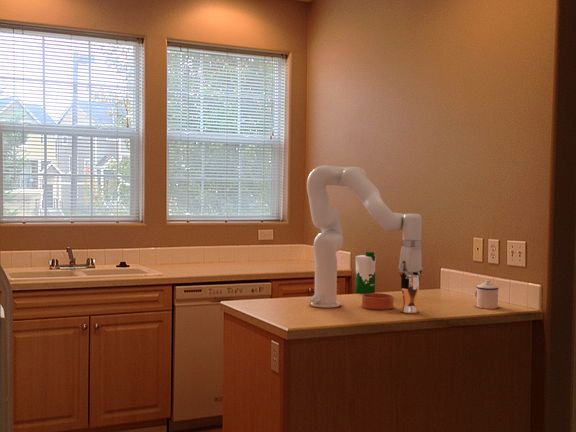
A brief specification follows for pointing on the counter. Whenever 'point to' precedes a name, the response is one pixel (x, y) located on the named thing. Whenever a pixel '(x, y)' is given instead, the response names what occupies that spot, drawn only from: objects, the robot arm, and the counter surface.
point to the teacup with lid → (487, 295)
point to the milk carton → (365, 273)
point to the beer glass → (411, 295)
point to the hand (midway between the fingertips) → (410, 287)
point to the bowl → (377, 301)
